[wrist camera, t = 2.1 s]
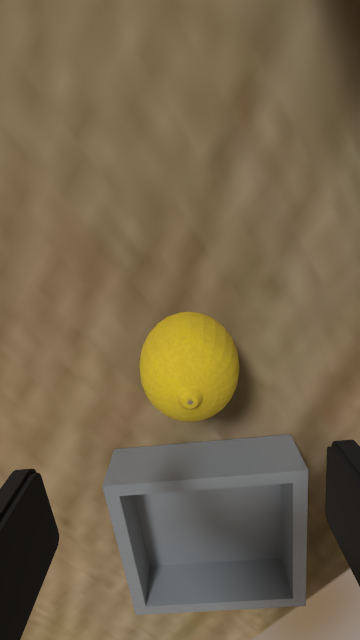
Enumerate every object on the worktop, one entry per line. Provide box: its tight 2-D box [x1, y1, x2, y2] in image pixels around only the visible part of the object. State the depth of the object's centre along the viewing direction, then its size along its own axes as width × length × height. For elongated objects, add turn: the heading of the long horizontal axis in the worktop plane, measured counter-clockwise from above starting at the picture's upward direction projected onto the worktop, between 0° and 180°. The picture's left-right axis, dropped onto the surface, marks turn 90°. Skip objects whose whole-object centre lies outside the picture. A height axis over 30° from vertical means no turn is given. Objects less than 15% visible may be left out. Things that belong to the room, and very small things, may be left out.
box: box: [102, 434, 308, 615], centre depth 24 cm, size 14×14×4 cm
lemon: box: [140, 312, 239, 422], centre depth 17 cm, size 6×6×8 cm
